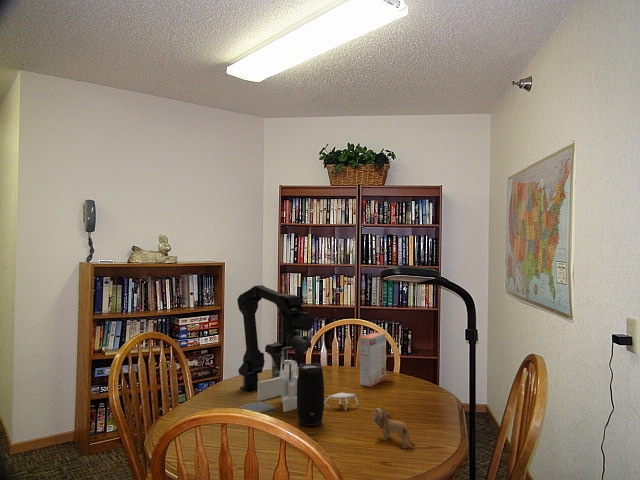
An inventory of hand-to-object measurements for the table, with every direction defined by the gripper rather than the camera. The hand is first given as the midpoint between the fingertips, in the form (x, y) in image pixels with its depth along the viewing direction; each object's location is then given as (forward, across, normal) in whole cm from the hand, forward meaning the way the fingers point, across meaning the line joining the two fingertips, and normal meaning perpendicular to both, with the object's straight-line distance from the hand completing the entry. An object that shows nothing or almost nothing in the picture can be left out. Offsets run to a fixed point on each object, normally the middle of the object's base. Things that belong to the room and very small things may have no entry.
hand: (288, 368), depth 183 cm
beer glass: (+13, 0, 0) cm, 13 cm away
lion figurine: (+12, 0, -51) cm, 52 cm away
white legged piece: (+13, +9, -18) cm, 24 cm away
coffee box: (+13, +15, +25) cm, 32 cm away
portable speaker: (+12, -9, -23) cm, 28 cm away
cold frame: (+12, 0, 0) cm, 12 cm away
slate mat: (+12, -14, +1) cm, 19 cm away
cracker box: (+13, +43, -5) cm, 45 cm away
